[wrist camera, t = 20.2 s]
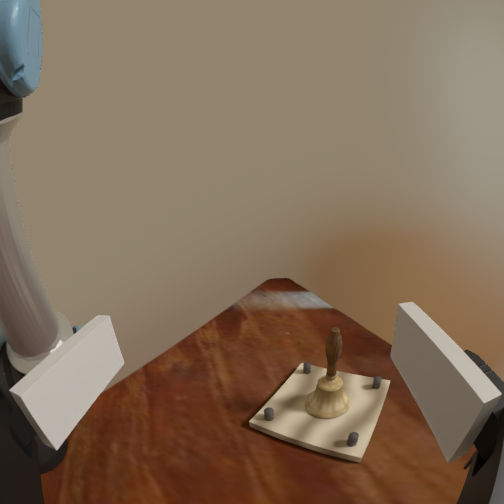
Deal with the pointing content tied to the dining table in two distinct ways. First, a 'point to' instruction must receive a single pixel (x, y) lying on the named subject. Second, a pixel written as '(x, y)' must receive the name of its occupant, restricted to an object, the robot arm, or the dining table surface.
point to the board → (318, 429)
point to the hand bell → (329, 384)
